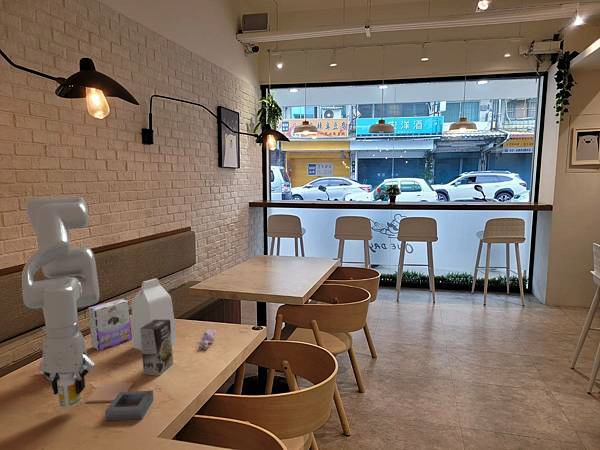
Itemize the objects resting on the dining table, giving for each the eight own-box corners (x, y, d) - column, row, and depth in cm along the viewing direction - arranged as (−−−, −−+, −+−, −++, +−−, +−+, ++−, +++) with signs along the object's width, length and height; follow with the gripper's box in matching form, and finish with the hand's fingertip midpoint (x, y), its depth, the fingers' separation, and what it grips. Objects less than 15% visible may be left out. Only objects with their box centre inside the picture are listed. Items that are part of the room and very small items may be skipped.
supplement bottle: (83, 396, 118) (80, 364, 117) (78, 406, 113) (74, 374, 112) (63, 398, 117) (59, 366, 116) (56, 409, 112) (52, 376, 111)
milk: (152, 353, 153) (147, 285, 150) (132, 347, 159) (127, 282, 156) (177, 342, 164) (172, 278, 160) (157, 336, 170) (153, 275, 166)
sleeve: (106, 420, 111) (105, 410, 111) (120, 401, 121) (119, 391, 120) (142, 419, 111) (141, 409, 111) (153, 400, 121) (152, 390, 120)
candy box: (125, 336, 171) (122, 298, 169) (132, 339, 167) (129, 300, 166) (91, 347, 161) (87, 306, 159) (98, 351, 157) (94, 309, 155)
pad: (86, 402, 121) (85, 400, 121) (101, 385, 131) (101, 383, 130) (120, 401, 121) (120, 399, 121) (133, 384, 131) (133, 382, 131)
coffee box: (160, 376, 136) (156, 329, 134) (142, 374, 137) (139, 328, 135) (174, 363, 145) (171, 319, 143) (157, 362, 146) (154, 318, 144)
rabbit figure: (210, 355, 154) (220, 333, 168) (208, 341, 152) (219, 320, 167) (194, 355, 154) (205, 333, 169) (192, 341, 153) (204, 320, 167)
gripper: (22, 336, 108) (29, 400, 111) (88, 335, 108) (94, 398, 111) (39, 325, 115) (46, 385, 118) (101, 324, 116) (106, 383, 119)
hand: (69, 391), depth 115 cm, fingers closed on supplement bottle, 5 cm apart
